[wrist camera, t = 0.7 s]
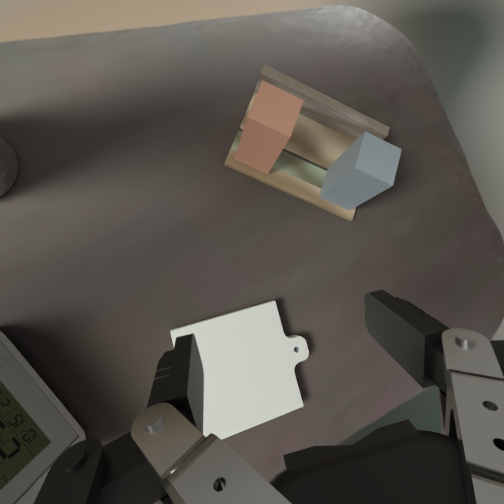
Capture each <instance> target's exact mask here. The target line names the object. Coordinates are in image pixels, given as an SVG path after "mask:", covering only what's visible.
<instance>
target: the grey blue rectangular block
mask: <svg viewBox="0 0 504 504" xmlns="http://www.w3.org/2000/svg"><path fill="white" fill-rule="evenodd" d="M401 150H402V149H400V148H398V147H396V146H394V145H392V144H390V143H388V142H386V141H384V140H382V139H380V138H378V137H376V136H374V135H372V134H370V133H368V132H366V131H365V132H364V133H363V134H362V135H361V136H360V137H359V138H358V139H357V140H356V141H355V142H354V143H353V144H352V145H351V146H350V147H349V148H348V149H347V150H345V151H344V152H343V153H342V154H341V155H340V156H339V157H338V158H337V159H336V160H335V161H334V162H333V163H332V164H331V165H330V166H329V167H328V169H327V172H326V175H325V178H324V182H323V185H322V188H321V191H320V194H319V197H320V198H322V199H324V200H326V201H329V202H331V203H333V204H335V205H338V206H340V207H342V208H344V209H347V210H351V209H353V208H355V207H356V206H358V205H360V204H362V203H363V202H365V201H367V200H369V199H370V198H372V197H374V196H376V195H377V194H379V193H381V192H383V191H384V190H386V189H388V188H390V187H391V186H393V184H394V179H395V175H396V171H397V167H398V163H399V159H400V155H401Z"/></svg>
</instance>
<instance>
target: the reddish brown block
mask: <svg viewBox="0 0 504 504" xmlns="http://www.w3.org/2000/svg"><path fill="white" fill-rule="evenodd" d="M303 101H304V100H302V99H300V98H297V97H295V96H293V95H291V94H289V93H287V92H285V91H283V90H281V89H279V88H277V87H275V86H273V85H271V84H269V83H267V82H265V81H263V80H262V83H261V85H260V87H259V90H258V92H257V95H256V97H255V99H254V102H253V104H252V107H251V109H250V111H249V114H248V116H247V119H246V123H245V126H244V129H243V132H242V135H241V139H240V142H239V145H238V148H237V152H236V155H235V158H234V160H237V161H239V162H241V163H243V164H246V165H248V166H250V167H252V168H255V169H257V170H259V171H261V172H264V173H266V174H268V173H269V171H270V170H271V168H272V166H273V165H274V163H275V161H276V160H277V158H278V156H279V155H280V153H281V151H282V150H283V148H284V147H285V145H286V143H287V142H288V140H289V138H290V136H291V134H292V131H293V128H294V125H295V123H296V120H297V117H298V114H299V112H300V109H301V106H302V103H303Z"/></svg>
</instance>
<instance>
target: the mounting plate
mask: <svg viewBox="0 0 504 504" xmlns="http://www.w3.org/2000/svg"><path fill="white" fill-rule="evenodd" d="M170 332H171V337H172V341H173V346H175V341H176V337H179V336H184V335H188V334H192V333H193V334H194V335H195V338H196V342H197V346H198V349H199V353H200V357H201V361H202V365H203V371H204V408H203V435H204V436H205V437H207V436H208V435H209V434H210V433H213V434H215V435H216V436H217V437H219V438H220V439H221V440H222V439H224V438H227V437H229V436H232V435H234V434H237V433H239V432H241V431H244V430H246V429H249V428H251V427H254V426H256V425H259V424H261V423H264V422H266V421H269V420H271V419H274V418H276V417H278V416H281V415H283V414H286V413H288V412H291V411H293V410H296V409H298V408H301V407H303V402H302V398H301V395H300V391H299V387H298V384H297V380H296V376H295V372H294V368H295V366H296V364H297V363H299V362H301V361H304V360H306V359H307V357H308V355H309V350H308V347H307V343H306V340H305V339H304V338H303V337H301V336H298V335H291V336H288V337H286V336H285V334H284V332H283V328H282V324H281V321H280V317H279V313H278V310H277V306H276V302H275V301H269V302H266V303H262V304H259V305H255V306H252V307H248V308H245V309H241V310H238V311H234V312H231V313H227V314H224V315H220V316H217V317H213V318H210V319H206V320H203V321H199V322H196V323H192V324H189V325H185V326H182V327H178V328H175V329H172V330H171V331H170ZM294 348H295V349H294Z"/></svg>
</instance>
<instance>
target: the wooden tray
mask: <svg viewBox="0 0 504 504" xmlns="http://www.w3.org/2000/svg"><path fill="white" fill-rule="evenodd" d="M262 80H263V81H265V82H267V83H269V84H271V85H273V86H275V87H277V88H279V89H281V90H283V91H285V92H287V93H289V94H291V95H293V96H295V97H297V98H300V99H302V100H304V101H303V103H302V106H301V109H300V112H299V114H298V117H297V120H296V123H295V125H294V128H293V131H292V134H291V136H290V138H289V140H288V142H287V143H286V145H285V147H284V148H283V150H282V151H281V153H280V155H279V156H278V158H277V160H276V161H275V163H274V165H273V166H272V168H271V170H270V171H269V173H268V174H266V173H264V172H261V171H259V170H257V169H255V168H252V167H250V166H248V165H246V164H243V163H241V162H239V161H237V160H234V158H235V155H236V152H237V148H238V145H239V142H240V139H241V135H242V132H243V129H244V126H245V123H246V119H247V116H248V114H249V111H250V109H251V107H252V104H253V102H254V99H255V97H256V95H257V92H258V90H259V87H260V85H261V83H262ZM365 131H366V132H368V133H370V134H372V135H374V136H376V137H378V138H380V139H382V140H383V139H385V138H386V137H387V136H388V132H389V127H387V126H385V125H383V124H381V123H379V122H377V121H376V120H374V119H372V118H370V117H368V116H366V115H364V114H362V113H360V112H358V111H356V110H354V109H352V108H350V107H348V106H346V105H344V104H342V103H340V102H338V101H336V100H334V99H332V98H330V97H328V96H326V95H324V94H322V93H320V92H318V91H316V90H314V89H312V88H310V87H308V86H306V85H304V84H302V83H300V82H298V81H297V80H295V79H293V78H291V77H289V76H287V75H285V74H283V73H281V72H279V71H277V70H275V69H273V68H271V67H269V66H267V65H265V64H264V65H263V68H262V70H261V72H260V76H259V79H258V82H257V85H256V89H255V92H254V94H253V97H252V99H251V101H250V104H249V106H248V108H247V111H246V113H245V116H244V118H243V120H242V123H241V125H240V127H239V130H238V132H237V135H236V137H235V139H234V142H233V144H232V146H231V149H230V151H229V154H228V156H227V158H226V161H225V163H224V166H227V167H229V168H231V169H234V170H236V171H238V172H240V173H243V174H245V175H247V176H249V177H252V178H254V179H256V180H259V181H261V182H263V183H265V184H268V185H270V186H272V187H274V188H277V189H279V190H281V191H283V192H286V193H288V194H290V195H293V196H295V197H297V198H299V199H302V200H304V201H306V202H308V203H311V204H313V205H315V206H318V207H320V208H322V209H324V210H327V211H329V212H331V213H333V214H336V215H338V216H340V217H343V218H345V219H347V220H349V221H351V220H353V217H354V213H355V210H356V207H355V208H353V209H351V210H347V209H344V208H342V207H340V206H338V205H335V204H333V203H331V202H329V201H326V200H324V199H322V198H320V197H319V194H320V191H321V188H322V185H323V182H324V178H325V175H326V172H327V169H328V167H329V166H330V165H331V164H332V163H333V162H334V161H335V160H336V159H337V158H338V157H339V156H340V155H341V154H342V153H343V152H344V151H345V150H347V149H348V148H349V147H350V146H351V145H352V144H353V143H354V142H355V141H356V140H357V139H358V138H359V137H360V136H361V135H362V134H363V133H364V132H365Z"/></svg>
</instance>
